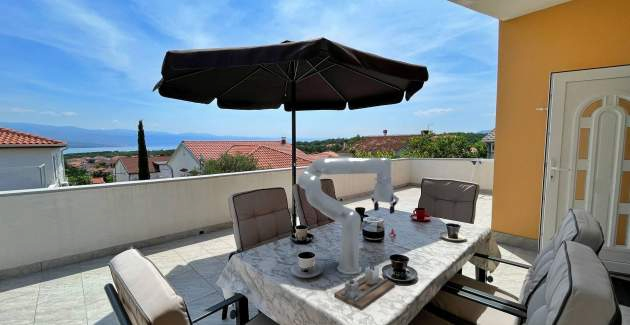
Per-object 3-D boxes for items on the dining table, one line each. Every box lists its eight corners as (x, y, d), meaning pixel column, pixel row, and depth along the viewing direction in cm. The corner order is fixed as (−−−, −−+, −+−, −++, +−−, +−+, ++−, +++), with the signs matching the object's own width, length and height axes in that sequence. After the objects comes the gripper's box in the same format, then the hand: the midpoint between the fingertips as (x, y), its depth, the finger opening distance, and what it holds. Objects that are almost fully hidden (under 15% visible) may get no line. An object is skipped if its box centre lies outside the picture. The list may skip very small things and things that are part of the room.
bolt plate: (334, 296, 118) (334, 277, 118) (368, 276, 136) (369, 260, 136) (361, 310, 108) (361, 289, 108) (394, 286, 126) (395, 268, 126)
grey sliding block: (365, 283, 125) (365, 267, 125) (371, 279, 129) (371, 263, 128) (372, 286, 122) (372, 269, 122) (378, 282, 126) (378, 266, 126)
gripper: (366, 180, 154) (366, 210, 155) (394, 182, 141) (394, 215, 142) (374, 178, 159) (374, 208, 160) (402, 181, 146) (402, 213, 147)
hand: (384, 211), depth 151 cm, fingers open, 9 cm apart
